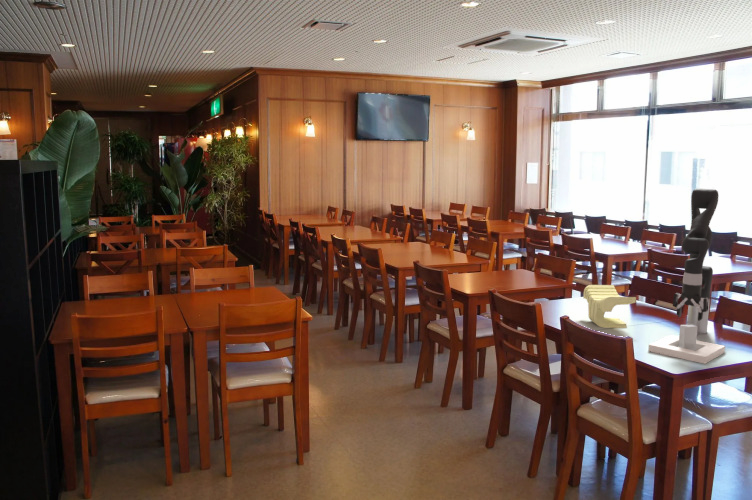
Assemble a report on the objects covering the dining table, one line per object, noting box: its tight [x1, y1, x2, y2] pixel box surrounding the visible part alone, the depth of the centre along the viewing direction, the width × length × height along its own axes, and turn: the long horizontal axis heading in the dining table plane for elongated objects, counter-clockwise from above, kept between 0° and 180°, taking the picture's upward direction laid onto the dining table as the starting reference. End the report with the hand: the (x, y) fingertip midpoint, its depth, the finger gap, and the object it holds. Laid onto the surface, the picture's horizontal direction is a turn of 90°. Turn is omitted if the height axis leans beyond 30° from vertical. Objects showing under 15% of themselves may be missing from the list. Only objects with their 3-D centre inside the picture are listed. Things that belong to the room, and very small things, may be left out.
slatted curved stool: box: [583, 284, 637, 329], centre depth 333 cm, size 30×16×18 cm, turn 0°
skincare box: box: [678, 324, 698, 351], centre depth 287 cm, size 6×4×12 cm
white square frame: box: [647, 334, 726, 364], centre depth 288 cm, size 24×24×3 cm
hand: (689, 318), depth 286 cm, fingers open, 8 cm apart
